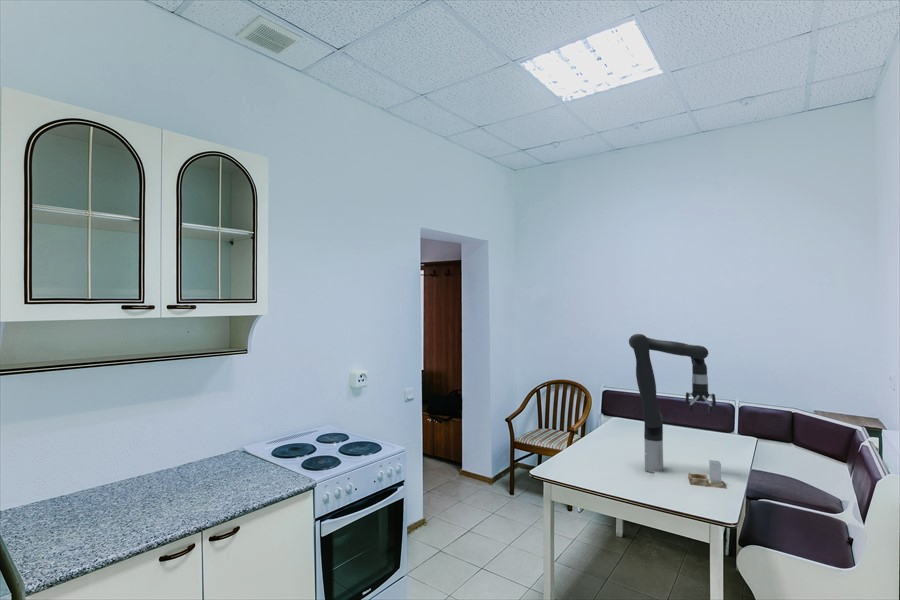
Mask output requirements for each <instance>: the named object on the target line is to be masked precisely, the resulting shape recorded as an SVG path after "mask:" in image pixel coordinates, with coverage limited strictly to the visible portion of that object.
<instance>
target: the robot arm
mask: <svg viewBox="0 0 900 600" xmlns="http://www.w3.org/2000/svg"><path fill="white" fill-rule="evenodd" d="M628 344H629V347H630V348H632V350H633V352H634V357H635V361H636V363H635V377H636V384H637V388H638V392H639V394H640V395H639V396H640V399H641V403H642V412H643V414H642V415H643V422H644V430H643V431H644V434H643V436H644V437H643V438H644V442H643V443H644V471H645V472H649V473H652V474H654V473H655V472H663V471H664V432H663V431H664V429H663V425H664V424H663V422H664V419H663V414H662V413H661V411H660V409H659V406H658V401H657V383H656V378H655V373H654V369H653V364H652V361H651V355H650V351H656V352H662V353H665V354H670V355H674V356H681V357H682V356H683V357H689V358H690V359H691V364H692V366H691V367H692V368H691V369H692V370H691V371H692V375H691V376H692V377H691V383H692V384H691V387H692V388H691V390H692V391H691V392H688V391H687V392H685V403H686V404H687V405H688V407H689V411H690V412H691V413H693V412H694V411H693V409H694V408H693V407H694V406H693V405H694V404H695V402H696V401H697V402H706V403H707V404H708V413H709V414H711V413H712V412H713V406H716V405H717V403H716V401H717V400H716V395H715V393H709V377H708V366H707V364H706V362H705V359H706V358H707V357H708V356H709V350H708V348H706V347H705V346H702V345H695V344H688V343H686V342H685V343H684V342H679V341H671V340H663V339H662V340H660V339H655V338H650V337H647V336H646V335H644V334H642V333H635V334H632V336H630V337H629V339H628ZM691 396H692V397H693V398H691V400H689V398H690V397H691ZM709 397H710V398H711V401H712V402H710V400H709Z"/></svg>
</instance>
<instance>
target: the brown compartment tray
mask: <svg viewBox="0 0 900 600" xmlns="http://www.w3.org/2000/svg"><path fill="white" fill-rule="evenodd" d="M687 479H688V481H689V484H690V486H691V485H693V486H699V487H700V486H701V487H707V488H717V489H726V490H727V489H728V487H727V485H726V484H725V481H723V480H721V484H714V483H711V482H710V478H708V476H707V474H700V473H692V472H688V473H687Z"/></svg>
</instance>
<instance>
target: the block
mask: <svg viewBox="0 0 900 600" xmlns="http://www.w3.org/2000/svg"><path fill="white" fill-rule="evenodd" d="M708 465H709V466H708V469H709V472H708V473H709V474H708V475H709V479H710V482H711V483H714V484H721V481H722V464H721V461H720V460H710V459H709V460H708Z"/></svg>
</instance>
